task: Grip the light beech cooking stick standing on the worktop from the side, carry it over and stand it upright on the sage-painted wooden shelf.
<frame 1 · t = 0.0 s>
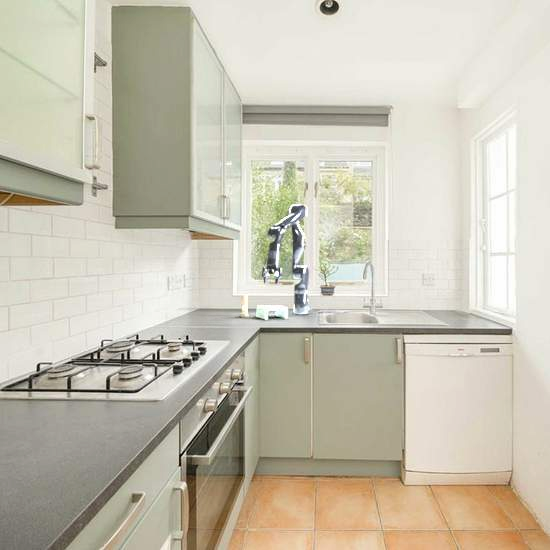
hand: (270, 284, 292), 22 cm above the worktop, tool pointing down, fingers open, 8 cm apart
stick: (244, 316, 304), on the worktop
shelf: (271, 317, 300), on the worktop
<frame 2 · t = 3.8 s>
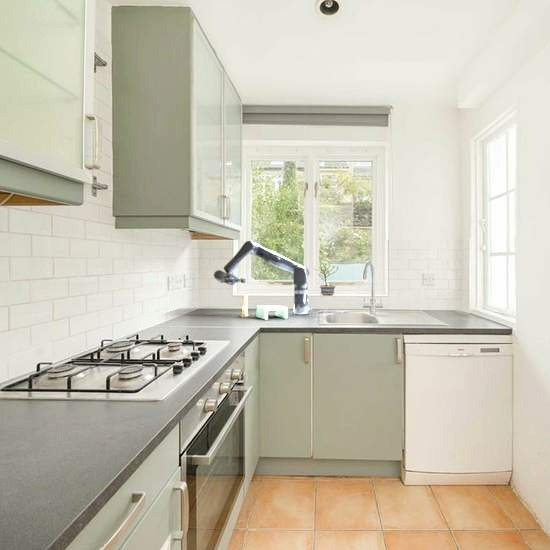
hand: (238, 281, 312), 22 cm above the worktop, tool horizontal, fingers open, 8 cm apart
nothing on the worktop moved.
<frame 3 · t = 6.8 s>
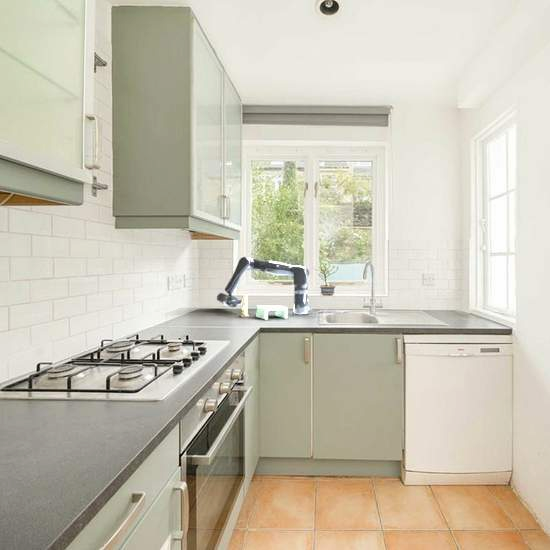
hand: (240, 303, 311), 7 cm above the worktop, tool horizontal, fingers open, 8 cm apart
nothing on the worktop moved.
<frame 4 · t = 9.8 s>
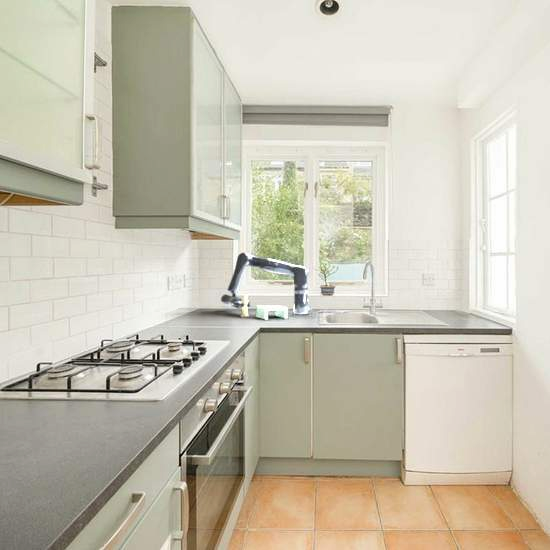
hand: (246, 305, 301), 8 cm above the worktop, tool horizontal, fingers closed on stick, 3 cm apart
stick: (244, 316, 304), on the worktop, touching gripper
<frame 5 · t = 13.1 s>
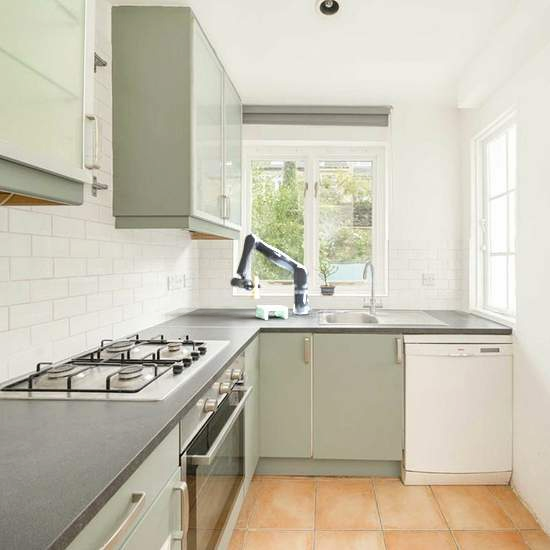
hand: (256, 286, 299), 20 cm above the worktop, tool horizontal, fingers closed on stick, 3 cm apart
stick: (255, 297, 302), point 12 cm above the worktop, touching gripper
when the fingers open (15 cm above the worktop, at t = 16.9 s): stick stays where it is, resting on shelf.
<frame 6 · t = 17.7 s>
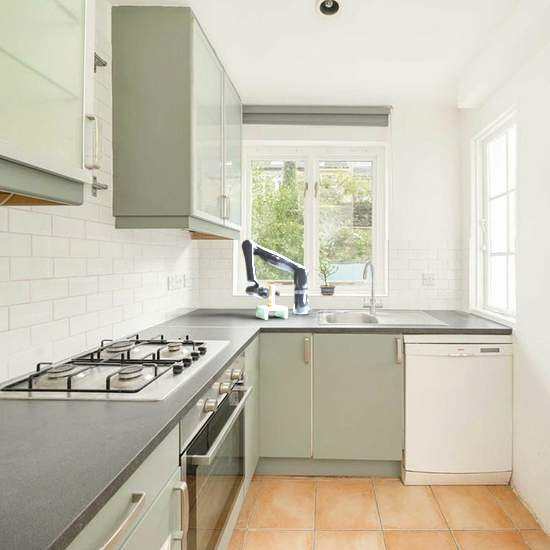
hand: (273, 294, 297), 15 cm above the worktop, tool horizontal, fingers open, 8 cm apart
stick: (271, 306, 299), point 7 cm above the worktop, touching shelf
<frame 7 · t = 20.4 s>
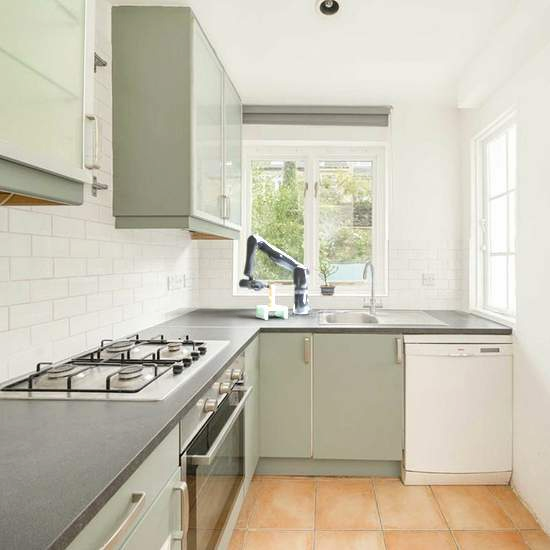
hand: (265, 286, 309), 19 cm above the worktop, tool horizontal, fingers open, 8 cm apart
nothing on the worktop moved.
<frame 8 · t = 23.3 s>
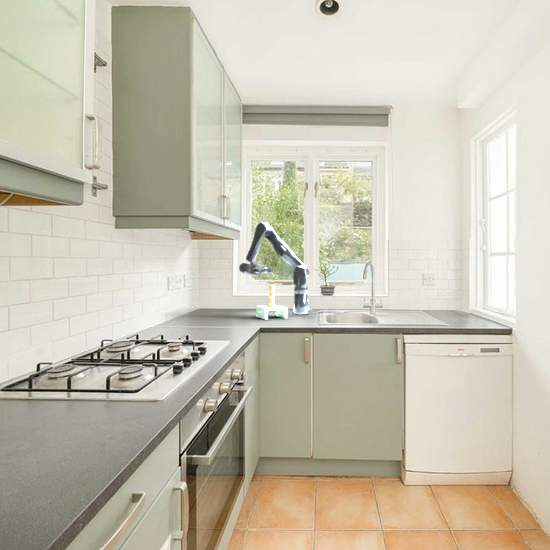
hand: (265, 270, 308), 30 cm above the worktop, tool horizontal, fingers open, 8 cm apart
nothing on the worktop moved.
at the end: stick inside the target area (0.1 cm from its centre), point 7.0 cm above the worktop; stick tilted 0°; the gripper is holding nothing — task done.
